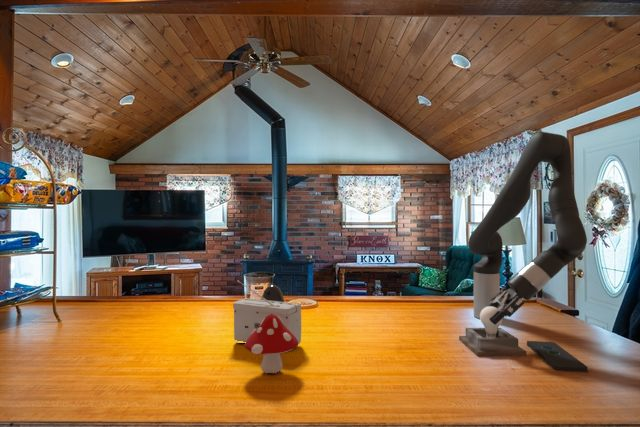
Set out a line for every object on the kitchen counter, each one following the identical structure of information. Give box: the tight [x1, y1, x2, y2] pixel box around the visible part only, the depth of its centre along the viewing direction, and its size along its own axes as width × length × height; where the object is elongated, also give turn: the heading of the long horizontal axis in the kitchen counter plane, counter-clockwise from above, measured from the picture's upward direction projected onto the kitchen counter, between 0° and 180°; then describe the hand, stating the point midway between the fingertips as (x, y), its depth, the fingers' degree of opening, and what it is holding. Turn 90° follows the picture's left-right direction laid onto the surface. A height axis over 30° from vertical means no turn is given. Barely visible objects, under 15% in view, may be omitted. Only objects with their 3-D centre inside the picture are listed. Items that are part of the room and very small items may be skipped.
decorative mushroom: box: [243, 314, 299, 374], centre depth 101 cm, size 14×14×15 cm
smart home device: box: [526, 340, 589, 373], centre depth 110 cm, size 8×2×20 cm
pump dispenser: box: [260, 284, 285, 302], centre depth 139 cm, size 10×10×15 cm
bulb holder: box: [458, 327, 527, 357], centre depth 118 cm, size 14×14×4 cm
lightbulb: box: [479, 306, 504, 338], centre depth 118 cm, size 6×6×11 cm
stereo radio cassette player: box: [232, 279, 302, 345], centre depth 122 cm, size 21×8×20 cm, turn 65°
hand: (488, 318), depth 118 cm, fingers open, 8 cm apart
